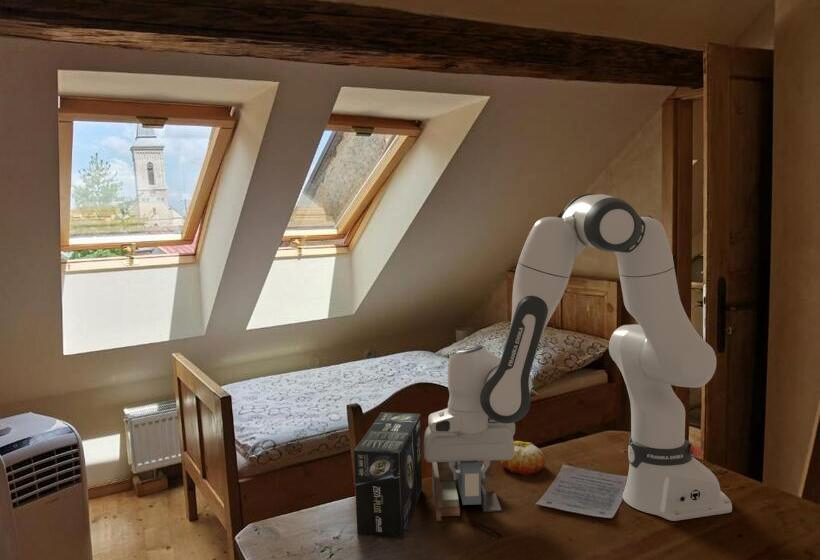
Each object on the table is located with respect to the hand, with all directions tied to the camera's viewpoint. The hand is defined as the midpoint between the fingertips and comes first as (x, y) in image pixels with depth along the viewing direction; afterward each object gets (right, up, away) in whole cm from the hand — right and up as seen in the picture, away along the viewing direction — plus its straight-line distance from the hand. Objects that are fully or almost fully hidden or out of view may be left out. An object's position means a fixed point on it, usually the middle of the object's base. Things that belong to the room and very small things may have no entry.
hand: (468, 478), depth 144 cm
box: (-17, -7, -1) cm, 18 cm away
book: (0, -4, 0) cm, 4 cm away
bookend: (+5, -6, +2) cm, 8 cm away
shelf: (-1, -6, +1) cm, 6 cm away
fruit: (+15, -4, +20) cm, 25 cm away
